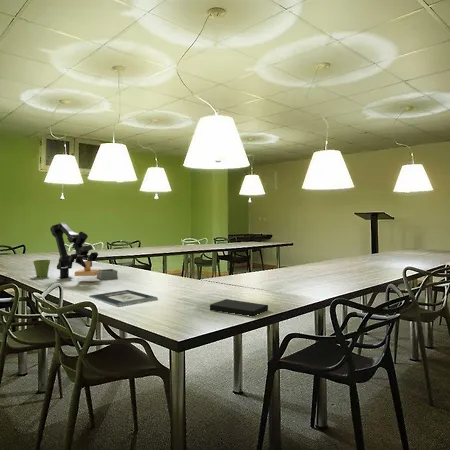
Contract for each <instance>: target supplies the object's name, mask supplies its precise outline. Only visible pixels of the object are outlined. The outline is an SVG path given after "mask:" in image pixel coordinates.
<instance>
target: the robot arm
mask: <svg viewBox="0 0 450 450" xmlns="http://www.w3.org/2000/svg"><path fill="white" fill-rule="evenodd" d="M49 231H50V233H51V235H52V237H54V238H55V241H56V245H57V246H56V247H57V249H58V252H59V253H58V254H59V258H58V263H57V265H56V270H58V271H59V276H58V278H59V279H68V278H69V276H70V274H69V270H70V269H72V268H73V263H75V264H78V265H80V266H82V267H83V269H84V268H85V267H86V266H85V263H84V259H86V261H91V268H92V267H93V261H95V260H96V259H97V258H98V257H99V253H98V252H96V251H92V252H91V253H90V252H89V251H91V250H93V246H92V244H88V245H84V244H85V243H86V241H87V239H88V238H89V237H88V236H89V235H88V234H86V233H85V232H84V231H79V233H78V232H75V231H73V230H72V229H71V228H70V226H69V225H68V224H67V222H59V223H56V224H54V225H52V226H50V230H49ZM64 234H65V236H66V237H67V241H68V242H69V243H70V244H71V243H72V247H71V248H72V249H74V250H75V253H72V254H68V252H67V247H66V243H65V240H64Z"/></svg>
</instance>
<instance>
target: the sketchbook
mask: <svg viewBox="0 0 450 450" xmlns="http://www.w3.org/2000/svg"><path fill="white" fill-rule="evenodd" d="M89 298H92V299H94V298H95V300H97V299H98V301H100V300H101V301H100V302H103V301H104V302H103V303H106V302H107V303H106V304H108V303H110V304H109V305H111V304H113V305H112V306H114V305H116V306H115V307H117V306H118V307H120V305H122V306H121V307H124V306H125V305H126V304H127V305H126V306H129V305H128V304H130V305H135V304H137V303H138V302H141V303H147V302H148V301H149V302H152V301H157V300H158V297H157V296H155V295H154V296H153V295H149V294H145V293H141V292H138V291H134V290H130V289H124V290H123V289H122V290H117V291H110V292H103V293H96V294H92V295H89ZM150 300H151V301H150ZM144 301H145V302H144ZM133 303H134V304H133ZM138 304H139V303H138ZM123 305H124V306H123Z"/></svg>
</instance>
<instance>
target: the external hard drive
mask: <svg viewBox="0 0 450 450" xmlns="http://www.w3.org/2000/svg"><path fill="white" fill-rule="evenodd" d="M212 310H215V311H214V312H218V311H222V312H221V313H224V312H228V313H227V314H230V313H235V314H234V315H236V314H242V315H249V316H255V315H257V314H259V315H261V314H260V313H262V312H264V313H266V312H268V311H269V304H264V303H256V302H250V301H249V302H248V301H242V300H235V299H228V298H226V299H222V300H220V301H217V302H214V303H211V304H209V311H212ZM267 310H268V311H267ZM265 311H266V312H265ZM262 314H263V313H262ZM242 315H241V316H242ZM257 316H258V315H257ZM255 317H256V316H255Z"/></svg>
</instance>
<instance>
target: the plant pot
mask: <svg viewBox="0 0 450 450" xmlns="http://www.w3.org/2000/svg"><path fill="white" fill-rule="evenodd" d="M51 261H52V260H50V259H35V260H32V263H33V265H34V270H35V275H36V277H39V278H42V277H43V278H44V277H47V276H48V274H49V269H50V268H49V267H50V263H51Z"/></svg>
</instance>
